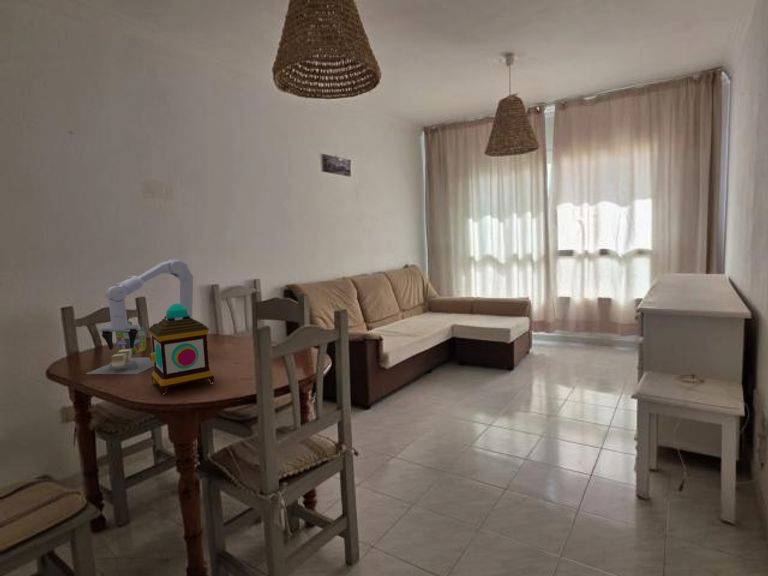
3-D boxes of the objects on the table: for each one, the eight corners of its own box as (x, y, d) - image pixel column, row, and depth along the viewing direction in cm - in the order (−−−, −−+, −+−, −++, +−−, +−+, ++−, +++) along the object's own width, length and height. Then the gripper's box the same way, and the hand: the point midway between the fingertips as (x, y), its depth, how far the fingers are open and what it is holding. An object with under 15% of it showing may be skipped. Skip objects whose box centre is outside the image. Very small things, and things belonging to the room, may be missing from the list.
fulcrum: (138, 366, 187) (137, 360, 186) (131, 369, 183) (131, 363, 182) (115, 366, 188) (114, 360, 187) (108, 369, 184) (108, 363, 183)
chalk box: (134, 355, 209) (131, 324, 207) (116, 355, 210) (113, 323, 208) (147, 350, 218) (145, 320, 216) (130, 350, 219) (128, 320, 217)
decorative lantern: (147, 384, 165) (139, 303, 162) (203, 373, 177) (197, 297, 174) (158, 398, 150) (150, 309, 146) (219, 385, 161) (213, 302, 158)
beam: (123, 365, 179) (122, 355, 179) (112, 366, 178) (111, 356, 178) (132, 357, 191) (131, 348, 190) (122, 358, 190) (121, 349, 189)
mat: (171, 358, 200) (171, 357, 200) (137, 375, 177) (137, 373, 177) (125, 358, 203) (125, 357, 202) (85, 375, 179) (85, 373, 179)
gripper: (140, 312, 188) (144, 344, 190) (102, 315, 185) (105, 347, 186) (135, 315, 181) (139, 348, 183) (95, 318, 178) (99, 351, 180)
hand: (121, 348), depth 184 cm, fingers open, 7 cm apart
